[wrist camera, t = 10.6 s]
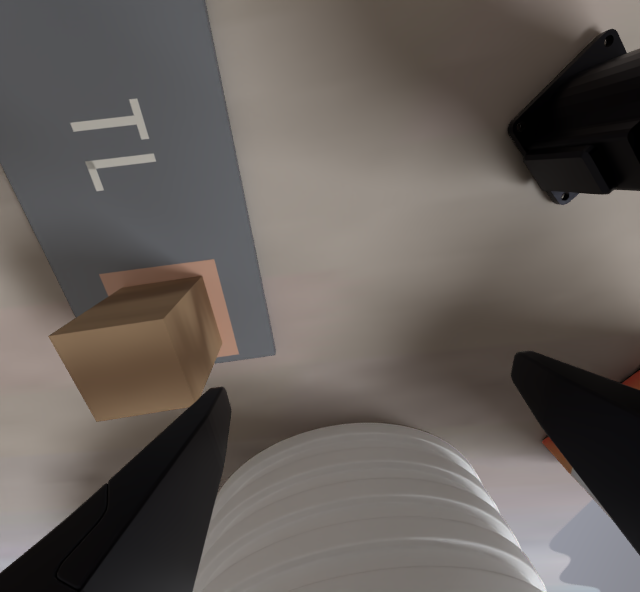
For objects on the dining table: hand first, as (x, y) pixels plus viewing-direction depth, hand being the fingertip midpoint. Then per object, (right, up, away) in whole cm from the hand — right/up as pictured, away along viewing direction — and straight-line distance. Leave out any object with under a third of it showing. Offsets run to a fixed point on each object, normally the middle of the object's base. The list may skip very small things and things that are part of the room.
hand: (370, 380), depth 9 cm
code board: (-12, +11, +7) cm, 18 cm away
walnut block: (-11, +1, +10) cm, 15 cm away
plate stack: (+1, -21, +22) cm, 30 cm away
